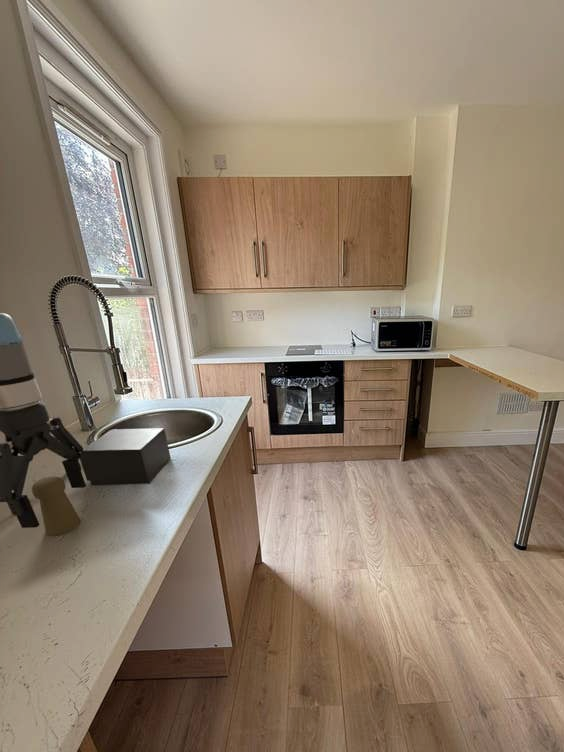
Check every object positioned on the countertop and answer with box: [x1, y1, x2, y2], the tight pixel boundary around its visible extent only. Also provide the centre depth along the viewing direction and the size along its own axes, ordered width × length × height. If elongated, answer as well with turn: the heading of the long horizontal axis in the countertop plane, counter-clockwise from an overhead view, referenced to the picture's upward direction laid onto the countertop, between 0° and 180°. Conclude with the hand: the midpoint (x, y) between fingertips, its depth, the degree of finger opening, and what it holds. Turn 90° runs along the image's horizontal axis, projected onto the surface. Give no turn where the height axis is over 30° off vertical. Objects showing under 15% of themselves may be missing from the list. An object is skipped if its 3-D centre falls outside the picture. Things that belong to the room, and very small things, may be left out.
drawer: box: [78, 452, 90, 482], centre depth 91 cm, size 18×12×8 cm
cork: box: [31, 475, 82, 537], centre depth 70 cm, size 6×6×11 cm
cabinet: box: [81, 427, 172, 486], centre depth 91 cm, size 15×14×10 cm
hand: (57, 505), depth 70 cm, fingers open, 13 cm apart
